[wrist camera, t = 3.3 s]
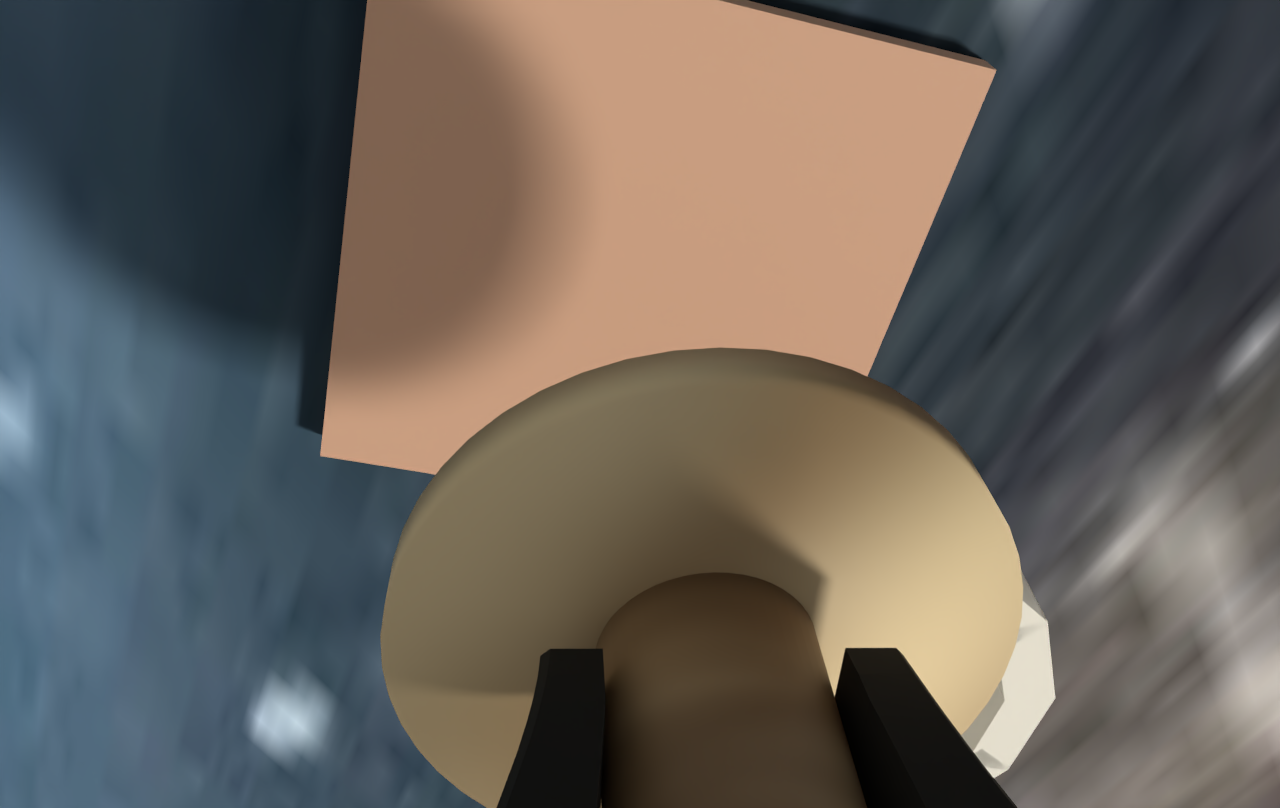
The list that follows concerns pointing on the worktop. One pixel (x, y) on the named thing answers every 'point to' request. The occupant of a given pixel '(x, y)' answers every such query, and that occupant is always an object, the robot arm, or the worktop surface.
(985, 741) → the bowl
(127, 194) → the worktop surface
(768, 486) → the bamboo lid
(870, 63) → the mat
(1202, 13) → the worktop surface
